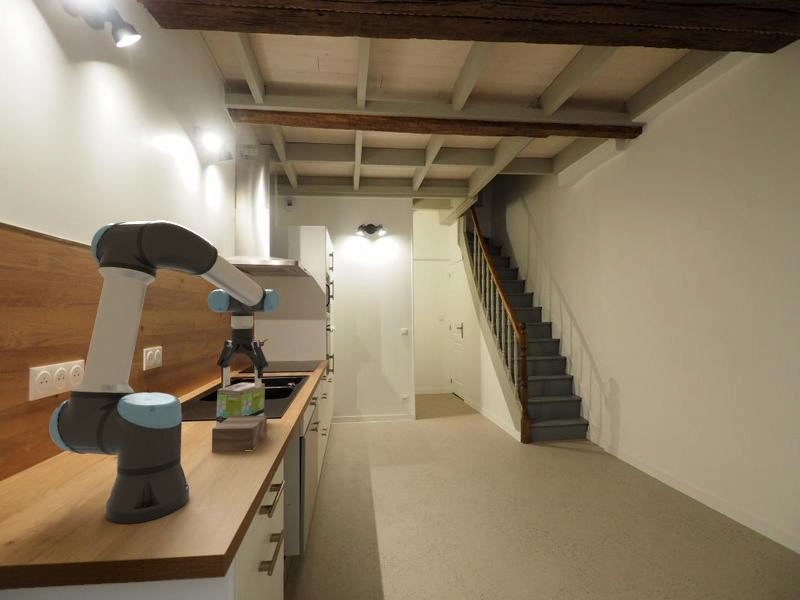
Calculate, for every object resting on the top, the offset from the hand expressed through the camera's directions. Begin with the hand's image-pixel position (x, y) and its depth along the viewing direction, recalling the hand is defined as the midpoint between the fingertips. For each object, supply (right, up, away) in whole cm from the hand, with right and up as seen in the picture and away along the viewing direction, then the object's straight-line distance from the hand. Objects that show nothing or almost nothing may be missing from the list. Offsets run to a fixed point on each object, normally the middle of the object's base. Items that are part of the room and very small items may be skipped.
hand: (242, 386), depth 143 cm
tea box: (0, -15, -1) cm, 15 cm away
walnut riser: (+7, -14, -19) cm, 24 cm away
